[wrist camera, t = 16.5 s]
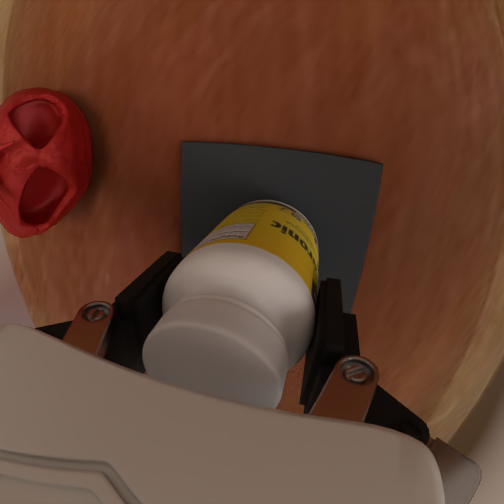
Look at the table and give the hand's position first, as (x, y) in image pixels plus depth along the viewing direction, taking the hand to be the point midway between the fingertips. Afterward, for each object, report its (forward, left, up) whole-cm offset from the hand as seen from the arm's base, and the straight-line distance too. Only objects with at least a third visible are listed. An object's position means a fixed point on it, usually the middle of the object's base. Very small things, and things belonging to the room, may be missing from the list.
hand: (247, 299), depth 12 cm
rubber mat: (0, 0, -6) cm, 6 cm away
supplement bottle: (0, 0, -5) cm, 5 cm away
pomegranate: (+16, -5, -6) cm, 18 cm away
